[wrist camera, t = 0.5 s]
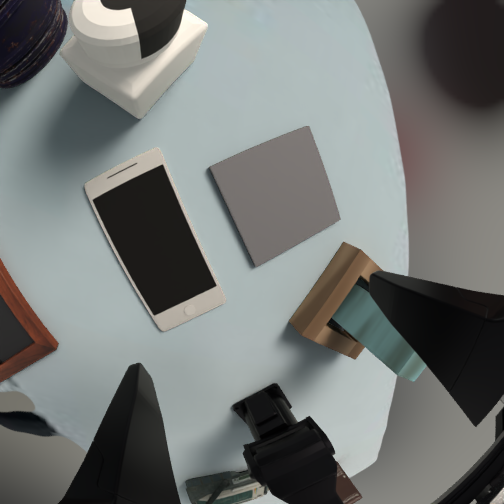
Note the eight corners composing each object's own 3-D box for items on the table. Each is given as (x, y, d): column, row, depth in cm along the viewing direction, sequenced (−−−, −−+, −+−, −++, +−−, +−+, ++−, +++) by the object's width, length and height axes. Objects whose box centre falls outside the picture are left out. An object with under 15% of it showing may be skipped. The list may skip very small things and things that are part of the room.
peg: (364, 292, 33) (441, 343, 21) (343, 321, 33) (414, 381, 21) (344, 276, 31) (428, 331, 19) (321, 309, 31) (397, 375, 19)
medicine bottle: (136, 22, 16) (133, -62, 5) (195, 60, 19) (231, -16, 8) (81, 81, 17) (29, 21, 6) (140, 121, 20) (123, 76, 9)
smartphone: (161, 328, 26) (162, 333, 25) (84, 184, 20) (82, 184, 19) (225, 297, 27) (228, 302, 26) (159, 146, 21) (159, 145, 20)
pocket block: (388, 282, 34) (403, 290, 31) (342, 347, 34) (355, 359, 32) (343, 241, 29) (360, 249, 27) (288, 321, 30) (301, 335, 27)
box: (336, 460, 48) (362, 495, 37) (339, 465, 50) (363, 497, 39) (313, 473, 47) (337, 509, 36) (317, 477, 49) (340, 511, 38)
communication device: (301, 469, 45) (319, 497, 37) (191, 496, 38) (202, 530, 30) (310, 442, 42) (333, 475, 34) (181, 474, 34) (192, 516, 26)
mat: (337, 218, 28) (340, 219, 28) (254, 264, 27) (256, 267, 26) (305, 126, 24) (308, 125, 24) (208, 167, 23) (210, 167, 22)
